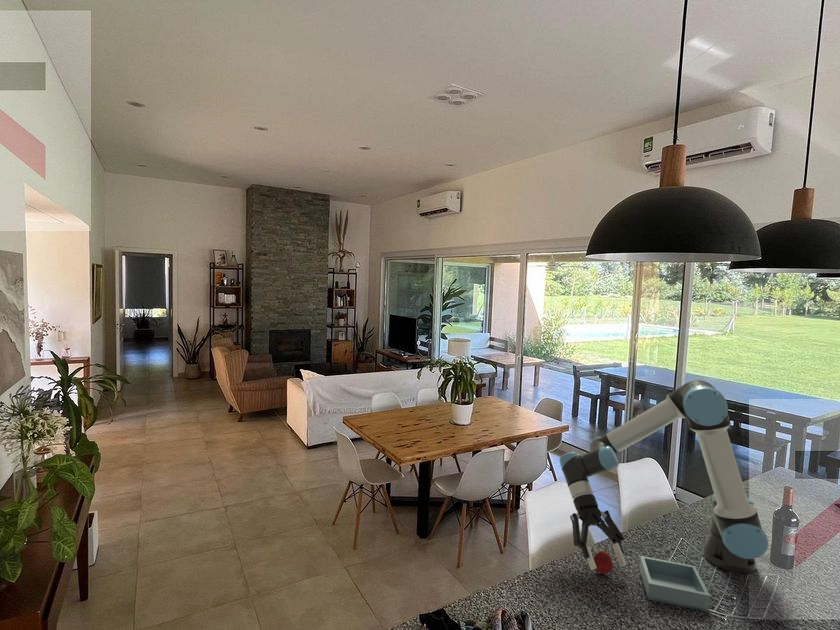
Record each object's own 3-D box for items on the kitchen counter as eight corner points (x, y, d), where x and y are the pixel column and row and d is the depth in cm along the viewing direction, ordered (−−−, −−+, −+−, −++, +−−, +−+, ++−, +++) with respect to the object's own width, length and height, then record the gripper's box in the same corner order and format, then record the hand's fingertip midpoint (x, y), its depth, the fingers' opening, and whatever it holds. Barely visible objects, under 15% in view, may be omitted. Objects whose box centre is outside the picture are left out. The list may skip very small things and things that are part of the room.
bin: (693, 581, 145) (695, 566, 144) (708, 612, 130) (709, 595, 130) (639, 570, 149) (640, 555, 149) (647, 599, 135) (648, 583, 135)
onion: (613, 580, 143) (615, 556, 143) (594, 578, 144) (596, 553, 144) (609, 569, 149) (611, 546, 148) (591, 567, 150) (592, 543, 150)
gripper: (606, 498, 163) (633, 567, 149) (549, 503, 158) (571, 574, 144) (616, 491, 158) (645, 560, 143) (558, 495, 153) (582, 568, 138)
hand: (608, 567), depth 143 cm, fingers open, 10 cm apart
